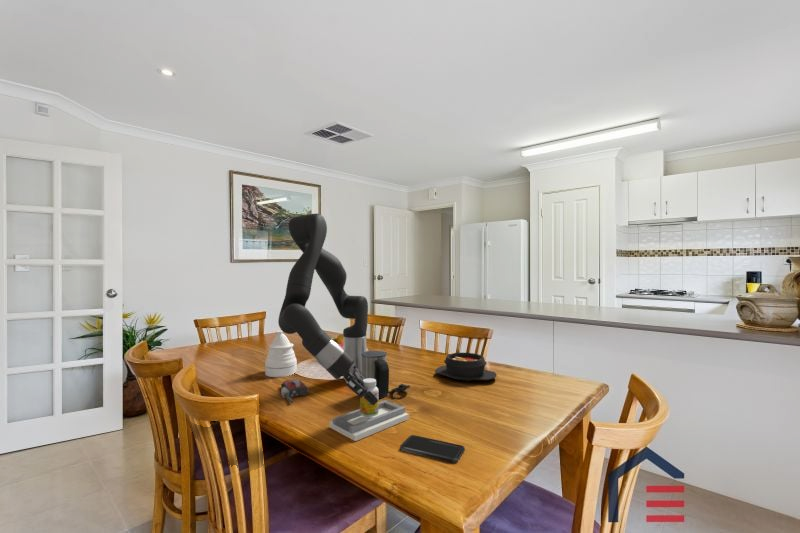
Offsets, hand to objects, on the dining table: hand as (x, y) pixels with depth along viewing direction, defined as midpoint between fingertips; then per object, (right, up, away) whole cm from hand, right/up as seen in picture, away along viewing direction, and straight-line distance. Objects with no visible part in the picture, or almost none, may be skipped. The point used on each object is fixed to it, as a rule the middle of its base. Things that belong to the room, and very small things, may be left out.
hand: (375, 398), depth 111 cm
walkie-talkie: (-30, -8, +25) cm, 40 cm away
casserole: (+34, -7, +44) cm, 56 cm away
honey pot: (-43, -7, +51) cm, 68 cm away
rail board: (-2, -7, 0) cm, 7 cm away
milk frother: (+2, -7, +24) cm, 26 cm away
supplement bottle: (-2, -4, 0) cm, 5 cm away
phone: (+15, -8, -16) cm, 23 cm away
